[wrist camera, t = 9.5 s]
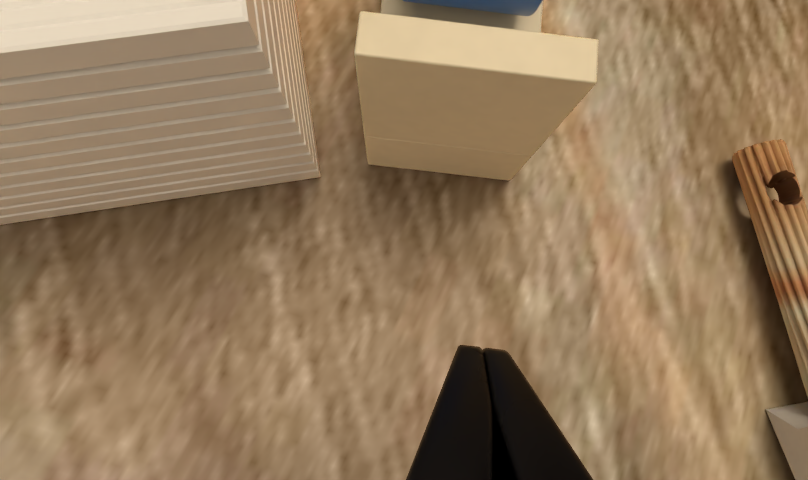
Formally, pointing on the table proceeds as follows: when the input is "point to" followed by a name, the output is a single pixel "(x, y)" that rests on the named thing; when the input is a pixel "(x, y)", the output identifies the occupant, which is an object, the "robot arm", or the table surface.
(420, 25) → the tape dispenser
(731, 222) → the table surface
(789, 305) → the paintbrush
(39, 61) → the stack of papers
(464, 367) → the robot arm
